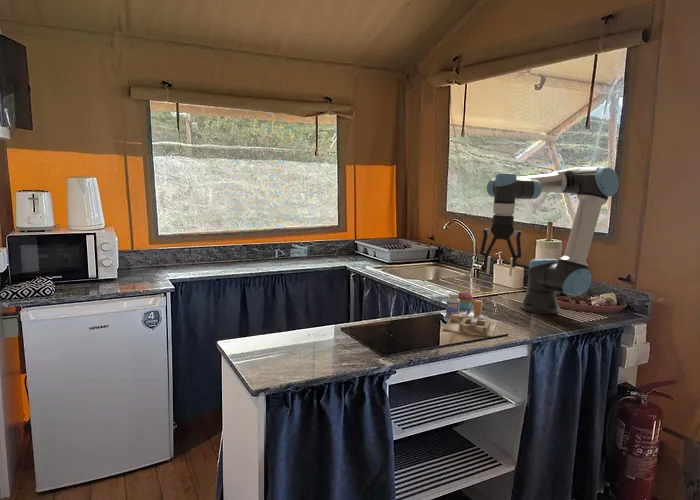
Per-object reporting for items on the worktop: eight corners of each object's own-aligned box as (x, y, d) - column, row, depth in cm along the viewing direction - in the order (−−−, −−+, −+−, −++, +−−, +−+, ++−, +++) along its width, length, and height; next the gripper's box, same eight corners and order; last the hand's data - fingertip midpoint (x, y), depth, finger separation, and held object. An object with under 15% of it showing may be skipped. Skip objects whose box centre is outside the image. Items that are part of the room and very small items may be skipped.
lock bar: (480, 316, 190) (482, 300, 189) (476, 326, 177) (477, 309, 176) (474, 315, 191) (475, 299, 190) (469, 325, 178) (470, 308, 177)
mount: (496, 325, 191) (496, 317, 191) (492, 337, 176) (492, 329, 175) (450, 319, 198) (450, 311, 197) (442, 330, 182) (443, 322, 182)
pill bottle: (449, 313, 206) (451, 291, 204) (461, 316, 203) (462, 293, 201) (443, 316, 202) (444, 293, 200) (455, 318, 198) (456, 295, 197)
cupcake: (458, 311, 210) (460, 284, 208) (449, 306, 218) (451, 280, 216) (476, 310, 212) (477, 283, 211) (466, 305, 220) (468, 279, 219)
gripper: (532, 215, 181) (527, 275, 184) (476, 212, 188) (473, 270, 192) (532, 216, 174) (527, 278, 177) (474, 213, 181) (470, 273, 185)
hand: (499, 274), depth 185 cm, fingers open, 8 cm apart
